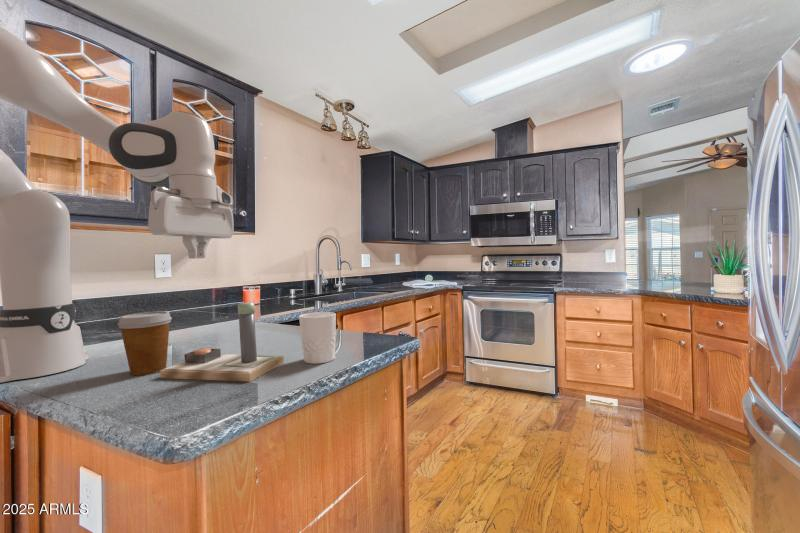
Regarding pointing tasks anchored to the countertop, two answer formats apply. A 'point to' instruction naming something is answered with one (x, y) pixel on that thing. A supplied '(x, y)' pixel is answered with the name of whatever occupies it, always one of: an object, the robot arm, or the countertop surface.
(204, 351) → the button
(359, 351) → the countertop surface
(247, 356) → the marker
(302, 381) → the countertop surface
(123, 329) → the disposable coffee cup
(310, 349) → the white cup
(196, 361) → the wooden tray
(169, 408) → the countertop surface
